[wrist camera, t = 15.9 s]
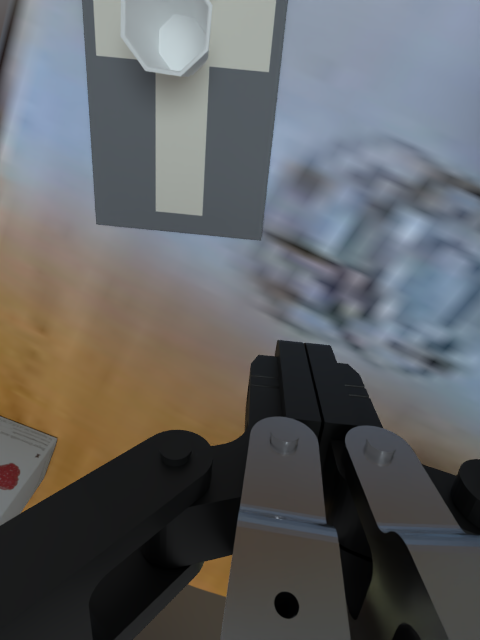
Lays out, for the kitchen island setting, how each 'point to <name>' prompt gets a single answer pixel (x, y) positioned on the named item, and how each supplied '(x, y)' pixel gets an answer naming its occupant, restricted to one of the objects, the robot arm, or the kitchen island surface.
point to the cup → (167, 34)
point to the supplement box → (21, 465)
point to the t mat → (185, 124)
